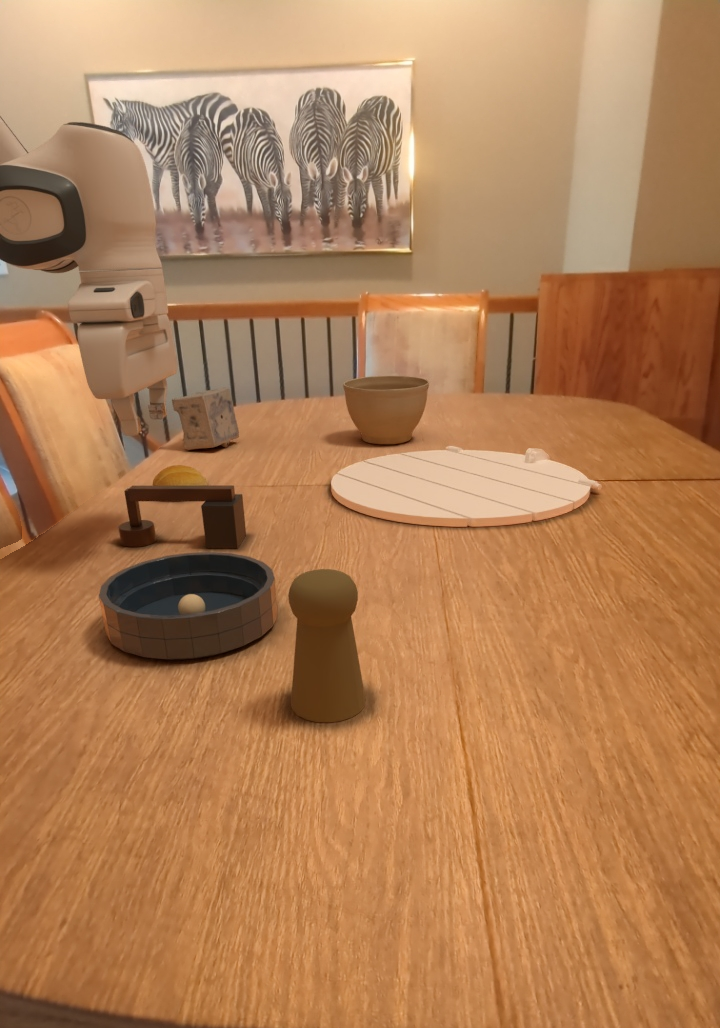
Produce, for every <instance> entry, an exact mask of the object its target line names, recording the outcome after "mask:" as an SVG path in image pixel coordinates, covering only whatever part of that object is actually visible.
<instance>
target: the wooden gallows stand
mask: <svg viewBox="0 0 720 1028" xmlns="http://www.w3.org/2000/svg"><path fill="white" fill-rule="evenodd" d="M235 490H236V489H235V485H232V484H231V485H218V484H217V485H209V486H153V485H131V486H129V488H126V489H125V490H124V497H125V503H126V510H127V516H128V521H125V522H122V523H121V524H119V525H118V527H117V529H118V534H119V540H120V544H121V546H124V547H127V548H140V547H145V546H149V545H152V544H154V543H155V542H156V541H157V534H156V528H155V523H154V522H153V521H152V520H148V519H142V515H141V514H142V513H141V508H140V503H139V502H205V501H233V500H234V499H235V494H236V491H235Z"/></svg>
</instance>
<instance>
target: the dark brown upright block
mask: <svg viewBox="0 0 720 1028" xmlns="http://www.w3.org/2000/svg"><path fill="white" fill-rule="evenodd" d="M244 507H245V506H244V498H243V493H235V499H234V500H233V501H203V502H202V504H201V506H200V508H201V517H202V525H203V532H204V533H203V534H204V540H205V548H206V549H232V550H233V549H234V550H235V549H237V550H238V549H239V548H240V546H241V544H242V542H243V541H244V540H245V538H246V537H247V528H246V520H245V509H244Z"/></svg>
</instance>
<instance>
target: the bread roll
mask: <svg viewBox="0 0 720 1028" xmlns="http://www.w3.org/2000/svg"><path fill="white" fill-rule="evenodd" d="M209 483H210V482H209V481H208V479H207V478H206V477H204V475H203V474H202V473H201V472H200V471H199V470H197V469H196V468H194V467H191V466H188V465H182V464H175V465H170V466H167V467H165V468H163V469H162V470H160V471H159V472H158V473H157V474H156V475H155V477H154V478H153V480H152V486H210V484H209Z"/></svg>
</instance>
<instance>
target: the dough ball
mask: <svg viewBox="0 0 720 1028" xmlns="http://www.w3.org/2000/svg"><path fill="white" fill-rule="evenodd" d="M178 610H179V613H180V615H188V614H195V613H201V612H205V603H204V601H203V599H202V598H201V597H199V596H198V595H195V594H189V595H186V596H184V597H183V598H182V599H181V600H180V602H179V604H178Z"/></svg>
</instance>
